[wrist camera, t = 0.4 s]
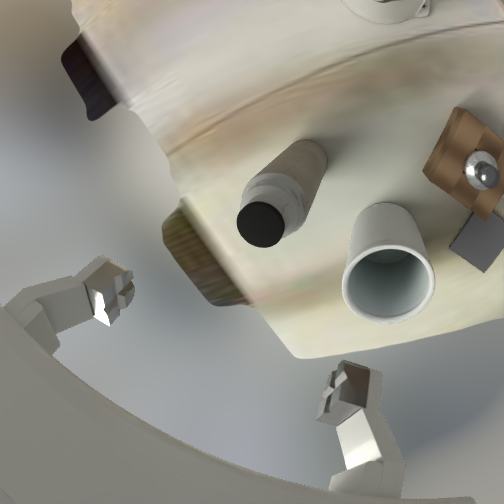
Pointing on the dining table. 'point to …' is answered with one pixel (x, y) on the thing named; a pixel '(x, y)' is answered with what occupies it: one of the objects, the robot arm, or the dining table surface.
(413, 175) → the dining table surface
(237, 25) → the dining table surface
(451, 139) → the socket block
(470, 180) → the end cover
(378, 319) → the utensil holder
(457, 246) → the mat
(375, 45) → the dining table surface
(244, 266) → the dining table surface
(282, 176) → the thermos bottle
